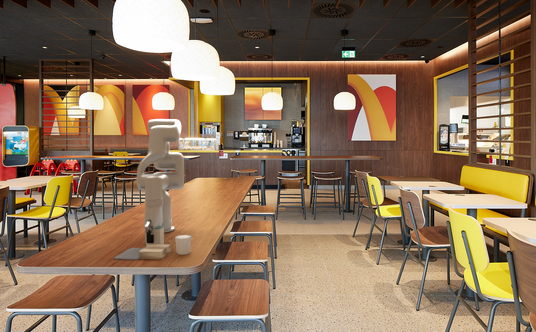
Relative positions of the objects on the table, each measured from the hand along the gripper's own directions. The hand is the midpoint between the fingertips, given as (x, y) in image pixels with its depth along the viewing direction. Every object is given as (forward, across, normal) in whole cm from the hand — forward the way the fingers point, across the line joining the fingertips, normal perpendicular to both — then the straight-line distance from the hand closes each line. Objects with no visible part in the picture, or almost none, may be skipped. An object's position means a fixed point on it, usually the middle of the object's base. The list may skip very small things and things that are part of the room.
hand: (154, 240), depth 154 cm
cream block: (+3, 0, 0) cm, 3 cm away
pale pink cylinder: (+3, +8, +16) cm, 18 cm away
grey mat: (+3, +12, -4) cm, 13 cm away
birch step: (+3, +12, +6) cm, 13 cm away
